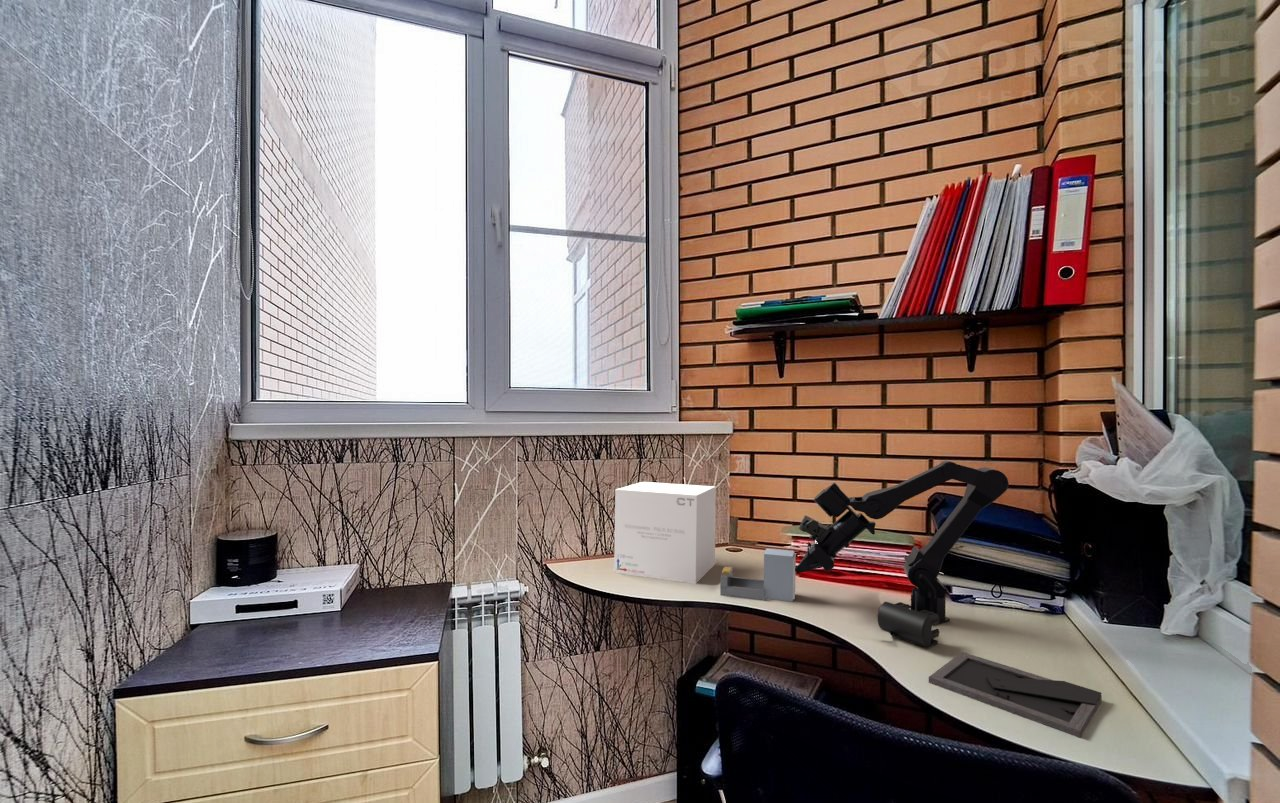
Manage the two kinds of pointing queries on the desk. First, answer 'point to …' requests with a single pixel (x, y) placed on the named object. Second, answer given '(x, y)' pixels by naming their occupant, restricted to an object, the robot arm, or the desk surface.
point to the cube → (665, 531)
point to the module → (779, 574)
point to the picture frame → (1020, 692)
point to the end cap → (909, 623)
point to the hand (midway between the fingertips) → (796, 571)
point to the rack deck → (741, 586)
